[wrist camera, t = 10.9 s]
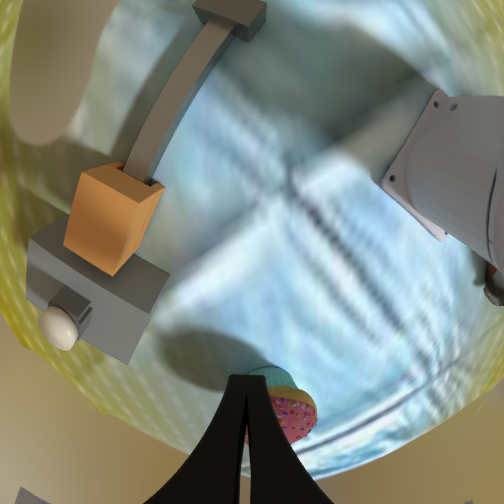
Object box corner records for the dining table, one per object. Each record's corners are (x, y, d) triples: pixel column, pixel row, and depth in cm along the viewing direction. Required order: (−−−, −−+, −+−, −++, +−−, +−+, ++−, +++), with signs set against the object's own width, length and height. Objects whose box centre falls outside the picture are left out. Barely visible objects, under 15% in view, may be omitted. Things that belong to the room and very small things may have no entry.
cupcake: (228, 349, 23) (215, 475, 12) (321, 354, 23) (348, 472, 12) (224, 401, 26) (215, 499, 15) (300, 405, 27) (311, 499, 16)
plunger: (60, 284, 14) (37, 306, 12) (92, 305, 15) (73, 331, 12) (57, 311, 15) (38, 334, 13) (87, 331, 16) (70, 357, 13)
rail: (217, 2, 12) (211, -17, 9) (265, 21, 12) (266, 3, 10) (92, 247, 19) (74, 263, 16) (128, 269, 20) (113, 287, 17)
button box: (66, 213, 18) (10, 246, 12) (170, 274, 20) (139, 333, 14) (56, 269, 20) (12, 309, 14) (146, 324, 22) (119, 382, 16)
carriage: (117, 161, 16) (81, 171, 12) (165, 186, 17) (138, 203, 13) (96, 222, 18) (63, 245, 14) (138, 247, 19) (112, 276, 15)
